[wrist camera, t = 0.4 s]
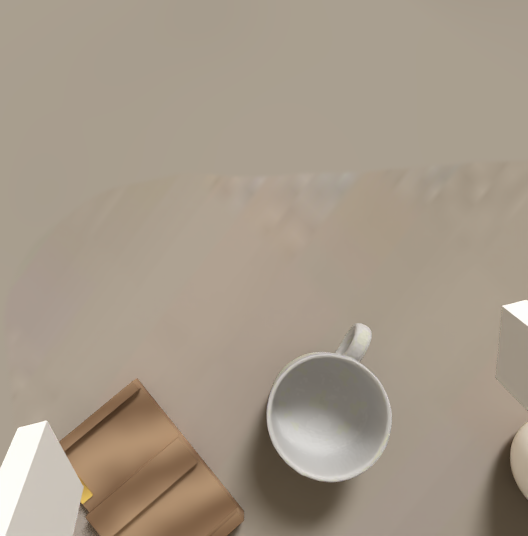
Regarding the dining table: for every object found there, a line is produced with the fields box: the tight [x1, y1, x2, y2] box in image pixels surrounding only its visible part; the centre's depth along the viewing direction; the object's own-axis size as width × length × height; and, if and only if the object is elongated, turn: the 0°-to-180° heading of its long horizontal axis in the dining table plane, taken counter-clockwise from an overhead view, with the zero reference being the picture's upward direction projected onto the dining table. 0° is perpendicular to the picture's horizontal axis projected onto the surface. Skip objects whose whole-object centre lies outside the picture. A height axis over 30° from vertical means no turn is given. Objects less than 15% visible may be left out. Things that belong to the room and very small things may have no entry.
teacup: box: [266, 323, 392, 482], centre depth 42 cm, size 14×11×8 cm
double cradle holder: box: [59, 379, 244, 536], centre depth 43 cm, size 17×11×2 cm, turn 40°
